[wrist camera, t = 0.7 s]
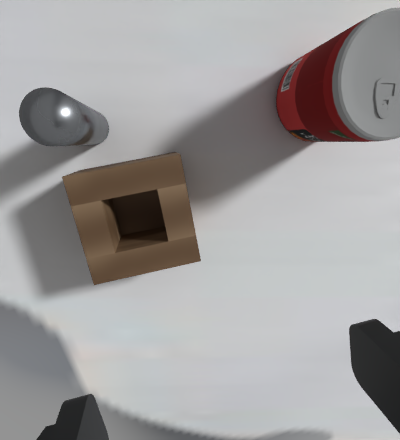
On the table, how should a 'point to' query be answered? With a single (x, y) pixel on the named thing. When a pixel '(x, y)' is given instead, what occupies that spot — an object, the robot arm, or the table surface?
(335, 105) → the canned food
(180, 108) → the table surface
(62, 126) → the pin
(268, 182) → the table surface
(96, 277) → the socket block
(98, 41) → the table surface
